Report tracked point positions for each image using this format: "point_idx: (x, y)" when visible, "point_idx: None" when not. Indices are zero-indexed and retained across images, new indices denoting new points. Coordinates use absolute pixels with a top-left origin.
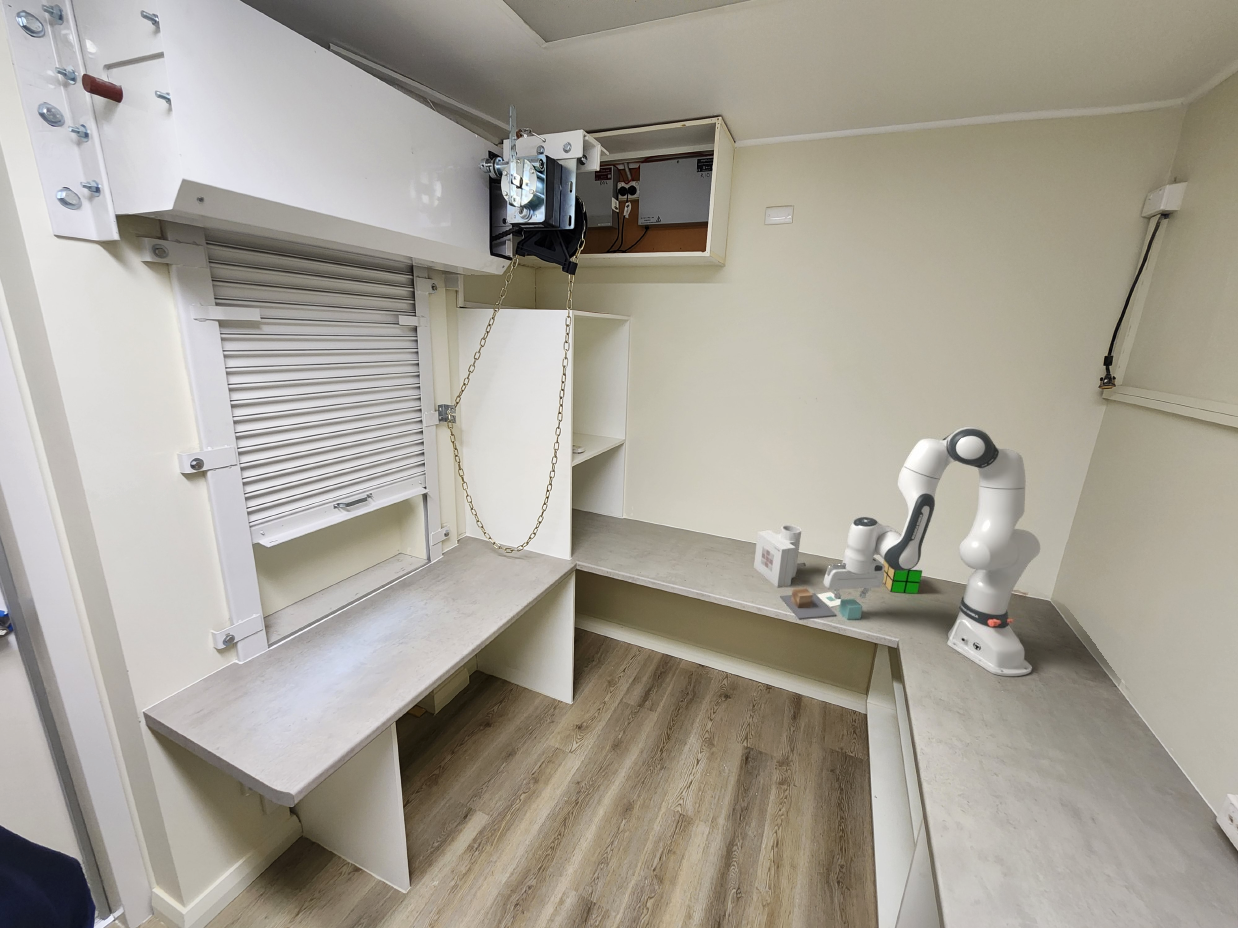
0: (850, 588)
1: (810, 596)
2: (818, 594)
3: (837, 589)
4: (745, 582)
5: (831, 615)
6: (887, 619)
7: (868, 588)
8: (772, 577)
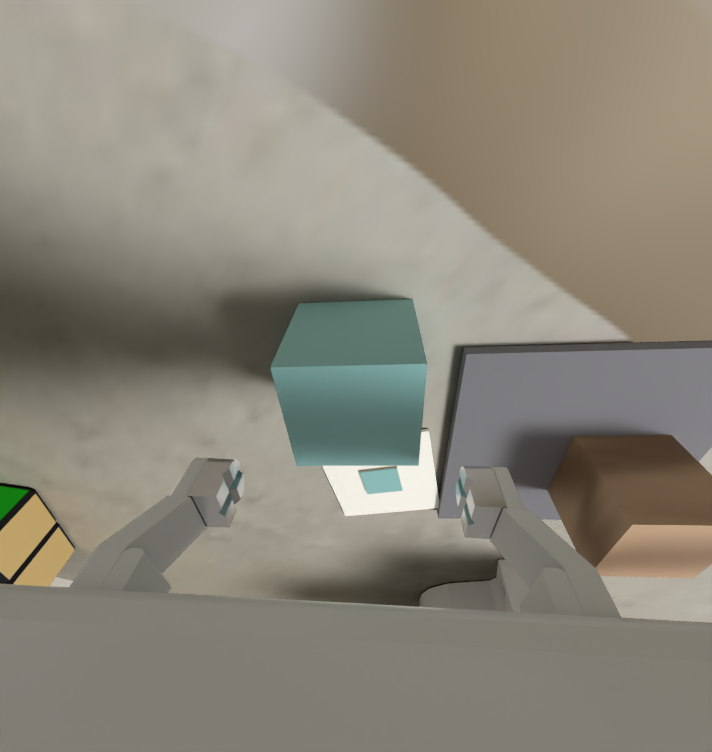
0: (409, 614)
1: (644, 511)
2: (421, 508)
3: (591, 604)
4: (678, 584)
5: (507, 350)
6: (82, 271)
7: (116, 571)
8: None
